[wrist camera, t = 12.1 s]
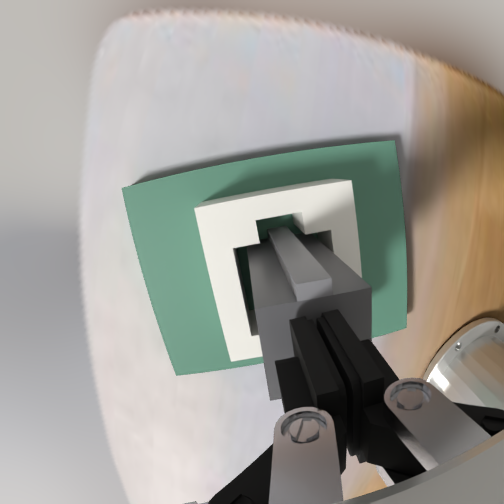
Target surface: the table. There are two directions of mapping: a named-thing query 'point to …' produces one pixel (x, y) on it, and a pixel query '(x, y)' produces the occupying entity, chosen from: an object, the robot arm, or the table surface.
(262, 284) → the plug
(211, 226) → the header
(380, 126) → the table surface
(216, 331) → the board
